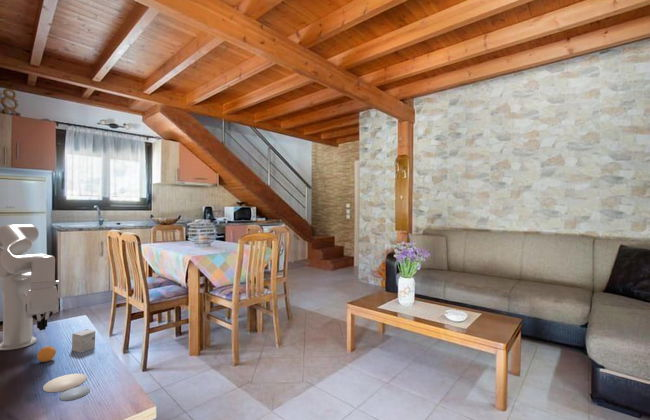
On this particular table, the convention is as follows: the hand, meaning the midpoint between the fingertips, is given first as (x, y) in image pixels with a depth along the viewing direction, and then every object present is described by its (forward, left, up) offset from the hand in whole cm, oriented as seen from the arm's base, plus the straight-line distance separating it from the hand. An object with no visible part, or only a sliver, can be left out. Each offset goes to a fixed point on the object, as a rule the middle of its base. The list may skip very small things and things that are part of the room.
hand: (42, 329), depth 134 cm
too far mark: (+44, 0, -11) cm, 46 cm away
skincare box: (+6, +13, -11) cm, 18 cm away
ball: (+9, 0, -8) cm, 12 cm away
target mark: (+34, 0, -11) cm, 35 cm away
